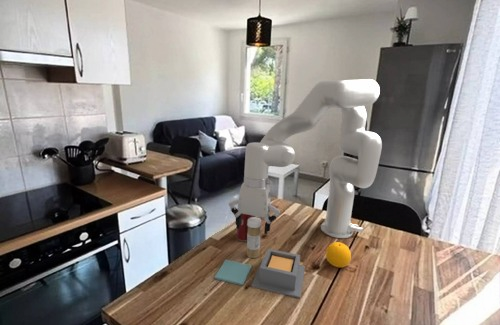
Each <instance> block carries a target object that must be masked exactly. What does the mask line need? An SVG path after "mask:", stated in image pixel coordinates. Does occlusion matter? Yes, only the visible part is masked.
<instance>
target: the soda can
mask: <svg viewBox="0 0 500 325" xmlns="http://www.w3.org/2000/svg"><path fill="white" fill-rule="evenodd" d="M236 209H237V210H238V207H237V208H236ZM241 215H242V223H241V226H240V228H238V229H237V225H236V224H235V227H236V228H235V238H236V239H237V240H239V241H240V242H244V243H245V242H246V243H247V233H248V225H247V222H248V219H249V218H251V217H257V216H252V215H247V214H241Z"/></svg>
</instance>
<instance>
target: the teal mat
mask: <svg viewBox="0 0 500 325" xmlns="http://www.w3.org/2000/svg"><path fill="white" fill-rule="evenodd" d="M252 268H253V266H252V265H251V264H247V263H242V262H238V261H234V260H229V259H225V260H224V261H223V263H222V264H221V267H220V268H219V269H218V271H217V272H216V273H215V275H214V279H215V280H219V281H223V282H227V283H229V284H230V283H231V284H234V285H239V286H244V284H245V282H246V280H247V278H248V276H249V274H250V271H251V270H252Z"/></svg>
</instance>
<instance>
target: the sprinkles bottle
mask: <svg viewBox="0 0 500 325" xmlns="http://www.w3.org/2000/svg"><path fill="white" fill-rule="evenodd" d="M247 225H248V233H247V242H246V256H247V257H248V258H250V259H257V258H258V257H260V248H261V247H260V246H261V226H262V220H261V218H260V217H257V216H256V217H251V218H249V219H248V222H247Z"/></svg>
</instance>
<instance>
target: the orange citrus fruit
mask: <svg viewBox="0 0 500 325" xmlns="http://www.w3.org/2000/svg"><path fill="white" fill-rule="evenodd" d="M325 256H326V257H325V258H326V260H327V262H328V263H329V264H330V265H331V266H333V267H335V268H345V267H347V266H348V265H349V264H350V262H351V260H352V253H351V250H350V248H349V247H348V246H347V245H346V244H345V243H343V242H339V241H336V242H332V243H331V244H329V245H328V246H327V247H326V250H325Z"/></svg>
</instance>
